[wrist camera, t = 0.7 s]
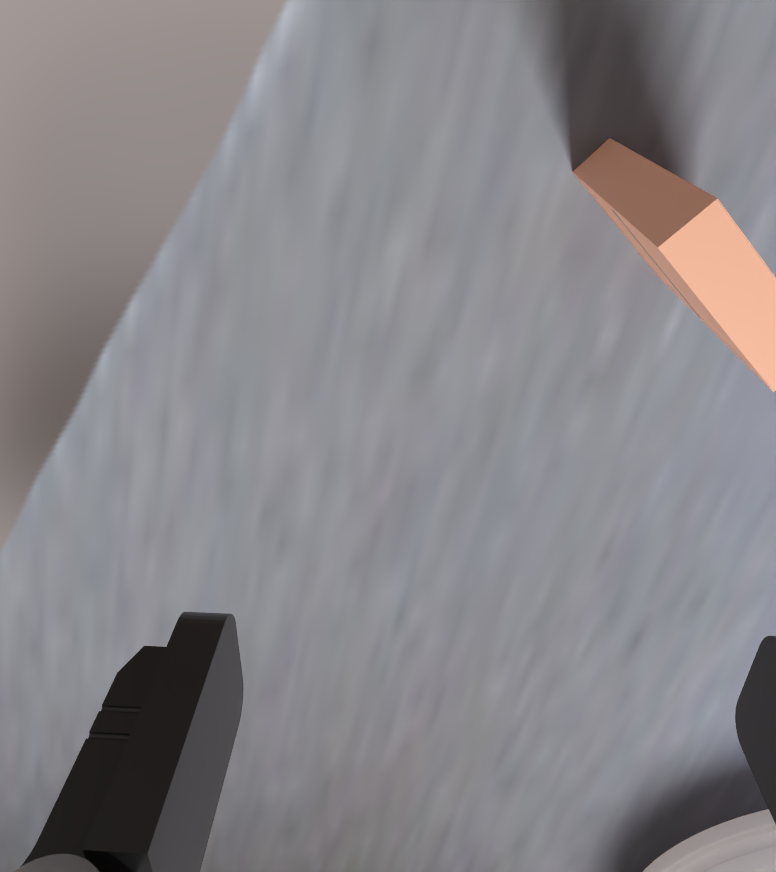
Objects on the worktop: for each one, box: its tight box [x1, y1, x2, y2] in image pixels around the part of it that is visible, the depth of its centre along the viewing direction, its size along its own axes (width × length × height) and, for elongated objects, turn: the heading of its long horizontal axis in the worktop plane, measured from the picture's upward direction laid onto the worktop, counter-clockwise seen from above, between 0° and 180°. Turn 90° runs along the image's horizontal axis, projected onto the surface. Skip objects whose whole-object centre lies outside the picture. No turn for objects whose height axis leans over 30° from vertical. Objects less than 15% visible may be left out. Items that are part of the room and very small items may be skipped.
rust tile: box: [573, 138, 776, 392], centre depth 24 cm, size 2×6×11 cm, turn 45°
